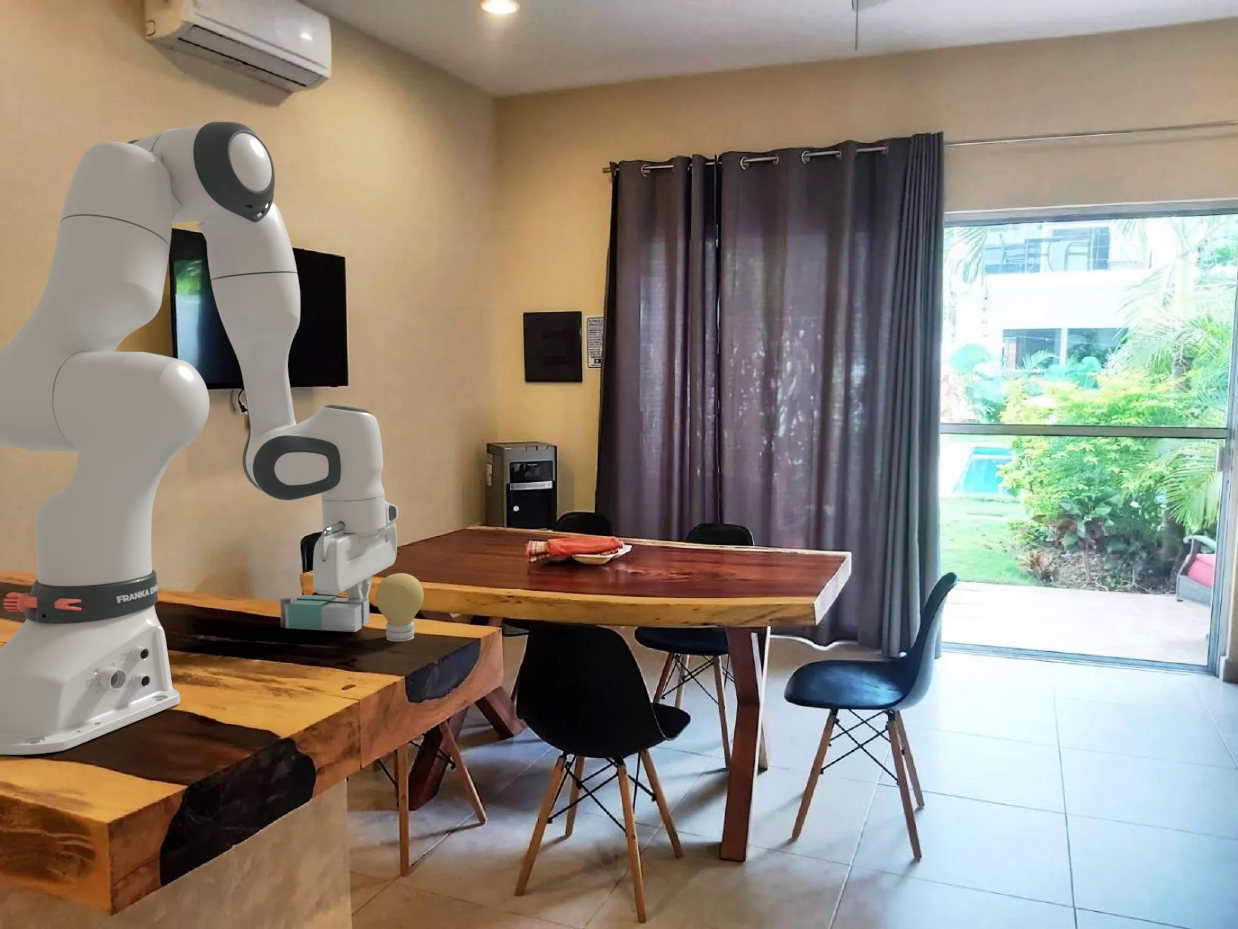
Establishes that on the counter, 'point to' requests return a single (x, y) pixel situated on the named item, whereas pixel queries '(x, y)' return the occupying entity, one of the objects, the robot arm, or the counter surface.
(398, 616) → the light bulb
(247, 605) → the counter surface
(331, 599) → the tong arm
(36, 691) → the robot arm
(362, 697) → the counter surface
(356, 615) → the tongs fixed arm
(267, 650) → the counter surface
